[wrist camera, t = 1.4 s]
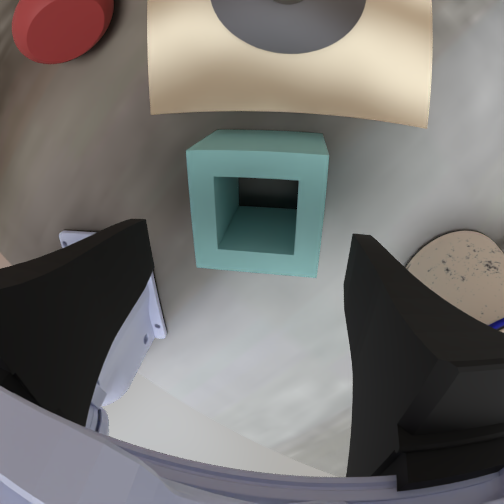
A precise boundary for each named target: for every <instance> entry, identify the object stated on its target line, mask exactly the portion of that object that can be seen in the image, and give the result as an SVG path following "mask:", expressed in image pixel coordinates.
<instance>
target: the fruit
mask: <svg viewBox="0 0 504 504" xmlns="http://www.w3.org/2000/svg"><path fill="white" fill-rule="evenodd" d="M113 9H114V0H20V1H19V3H18V5H17V7H16V9H15V12H14V16H13V21H12V34H13V38H14V41H15V44H16V46H17V47H18V49H19V50H20V52H21V53H22V54H23V55H25V56H26V57H27V58H29V59H31V60H33V61H35V62H38V63H43V64H58V63H64V62H67V61H70V60H73V59H75V58H77V57H79V56H81V55H82V54H84V53H86V52H87V51H88V50H90V49H91V48H92V47H93V46H94V45H95V44H96V43H97V42H98V41H99V40H100V39H101V37H102V36H103V35H104V33H105V32H106V30H107V28H108V26H109V24H110V21H111V18H112V15H113Z"/></svg>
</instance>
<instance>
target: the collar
mask: <svg viewBox="0 0 504 504" xmlns="http://www.w3.org/2000/svg"><path fill="white" fill-rule="evenodd" d="M186 158H187V172H188V184H189V196H190V207H191V218H192V228H193V238H194V248H195V257H196V265H197V267H198V268H208V269H219V270H230V271H241V272H252V273H264V274H276V275H288V276H300V277H313V278H316V277H317V269H318V262H319V254H320V245H321V237H322V228H323V218H324V208H325V198H326V187H327V175H328V163H329V154H328V150H327V147H326V144H325V140H324V137H323V134H322V133H309V132H294V131H273V130H216V131H215V132H213V133H212V134H210V135H208V136H207V137H205V138H204V139H202V140H201V141H199V142H198V143H196V144H195V145H193V146H192V147H190V148H189V149H187V150H186ZM238 177H245V178H266V179H284V180H299V186H298V203H297V209H283V208H268V207H251V206H239V182H238Z"/></svg>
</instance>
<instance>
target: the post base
mask: <svg viewBox="0 0 504 504" xmlns="http://www.w3.org/2000/svg"><path fill="white" fill-rule="evenodd" d="M147 40H148V74H149V94H150V110H151V115H156V114H169V113H185V112H208V111H271V112H295V113H311V114H324V115H335V116H345V117H354V118H362V119H370V120H378V121H384V122H391V123H397V124H403V125H409V126H415V127H420V128H425V129H427V124H428V115H429V104H430V91H431V75H432V1H431V0H148V1H147Z"/></svg>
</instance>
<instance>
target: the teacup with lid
mask: <svg viewBox="0 0 504 504" xmlns="http://www.w3.org/2000/svg"><path fill="white" fill-rule="evenodd" d="M406 269H407V270H408V271H409V272H410V273H412V274H413V275H414V276H415V277H416V278H417V279H418V280H420V281H421V282H422V283H423V284H424V285H426V286H427V287H428V288H429V289H431V290H432V291H434V292H435V293H436V294H438V295H439V296H440V297H442V298H443V299H444V300H446V301H447V302H449V303H450V304H452V305H453V306H455V307H457V308H458V309H460V310H462V311H463V312H465V313H466V314H468V315H470V316H472V317H473V318H475V319H477V320H479V321H481V322H483V323H485V324H486V325H488V326H490V327H492V328H494V329H496V330H499V331H501V332H503V333H504V253H503V252H502V251H501V250H500V248H499V247H498V246H497V245H496V244H495V243H494V242H493V241H492V240H491V239H490V238H489V237H487V236H485V235H483V234H481V233H478V232H474V231H457V232H452V233H449V234H446V235H443V236H441V237H439V238H437V239H435V240H433V241H432V242H430V243H429V244H427V245H426V246H425V247H423V248H422V249H421V250H420V251H419V252H418V253H417V254H416V255H415V256H414V257H413V258H412V260H411V261H410V262H409V264H408V265H407V267H406Z"/></svg>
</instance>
